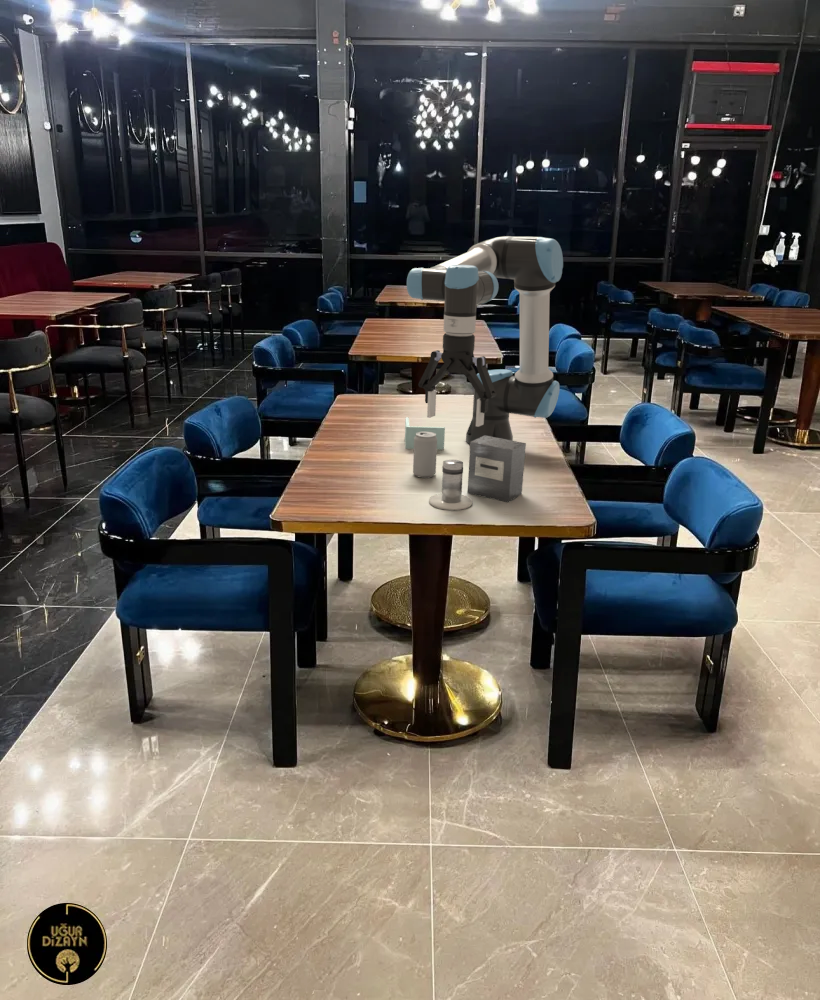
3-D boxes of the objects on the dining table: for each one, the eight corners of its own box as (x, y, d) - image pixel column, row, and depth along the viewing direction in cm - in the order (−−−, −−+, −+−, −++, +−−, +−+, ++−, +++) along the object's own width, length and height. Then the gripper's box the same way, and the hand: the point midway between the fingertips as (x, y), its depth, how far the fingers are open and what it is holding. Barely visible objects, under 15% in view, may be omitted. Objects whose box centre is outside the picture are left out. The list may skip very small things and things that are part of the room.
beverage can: (422, 470, 223) (423, 429, 219) (440, 475, 219) (442, 433, 215) (408, 475, 219) (409, 433, 214) (426, 480, 215) (427, 438, 211)
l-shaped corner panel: (443, 451, 244) (444, 427, 241) (405, 450, 243) (406, 426, 241) (441, 440, 255) (442, 418, 252) (404, 439, 255) (405, 417, 252)
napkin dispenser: (481, 485, 212) (484, 435, 207) (521, 494, 206) (525, 443, 201) (466, 493, 205) (469, 442, 201) (507, 503, 200) (511, 450, 195)
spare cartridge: (447, 495, 202) (448, 458, 199) (465, 499, 199) (467, 461, 196) (437, 500, 198) (439, 463, 194) (455, 504, 195) (457, 466, 192)
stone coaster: (442, 492, 206) (442, 490, 206) (479, 501, 200) (479, 498, 200) (420, 504, 197) (420, 501, 197) (458, 513, 192) (459, 511, 191)
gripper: (406, 329, 187) (404, 415, 195) (499, 341, 175) (493, 432, 182) (422, 326, 193) (419, 410, 201) (514, 337, 181) (507, 425, 188)
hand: (455, 421), depth 191 cm, fingers open, 13 cm apart
